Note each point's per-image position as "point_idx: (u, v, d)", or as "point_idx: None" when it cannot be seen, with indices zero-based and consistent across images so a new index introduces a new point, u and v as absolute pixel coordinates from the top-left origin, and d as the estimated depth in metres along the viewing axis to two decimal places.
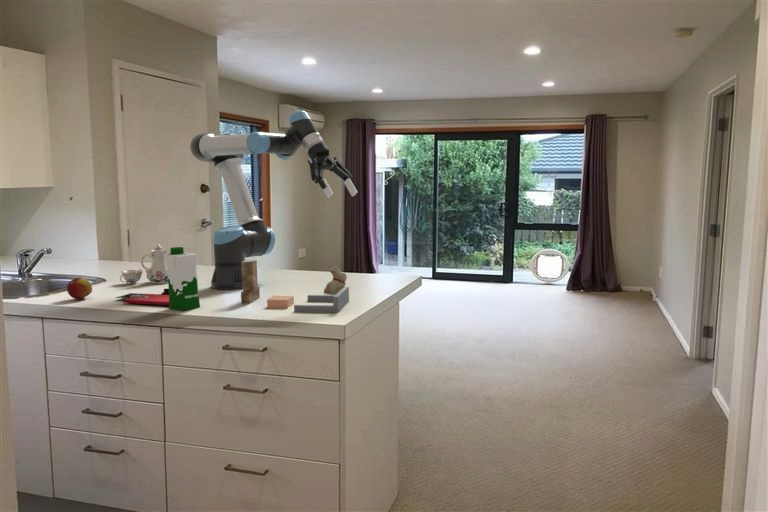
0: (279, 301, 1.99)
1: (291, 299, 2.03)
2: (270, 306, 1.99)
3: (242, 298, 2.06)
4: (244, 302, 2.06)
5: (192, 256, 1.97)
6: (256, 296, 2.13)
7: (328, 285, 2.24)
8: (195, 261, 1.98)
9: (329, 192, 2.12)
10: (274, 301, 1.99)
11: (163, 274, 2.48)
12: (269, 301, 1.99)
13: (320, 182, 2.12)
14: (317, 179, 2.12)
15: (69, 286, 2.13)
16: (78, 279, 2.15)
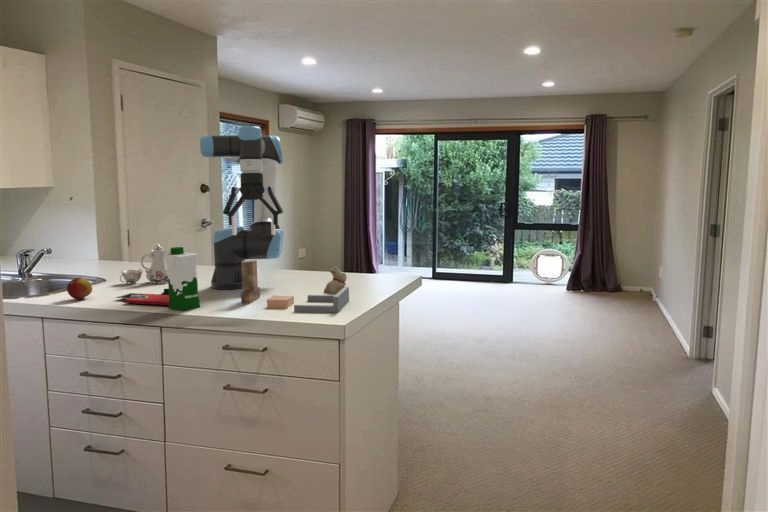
0: (279, 301, 1.99)
1: (291, 299, 2.02)
2: (270, 306, 1.99)
3: (242, 298, 2.06)
4: (244, 302, 2.06)
5: (192, 256, 1.97)
6: (256, 296, 2.13)
7: (328, 285, 2.24)
8: (195, 261, 1.98)
9: None
10: (274, 301, 1.99)
11: (163, 274, 2.48)
12: (269, 301, 1.99)
13: None
14: (227, 214, 2.08)
15: (69, 286, 2.13)
16: (78, 279, 2.15)
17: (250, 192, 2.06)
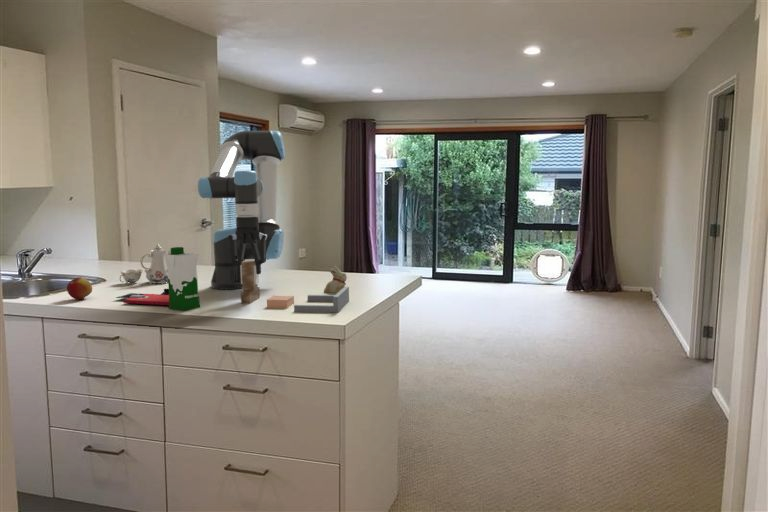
0: (279, 301, 1.99)
1: (291, 299, 2.02)
2: (270, 306, 1.99)
3: (242, 298, 2.06)
4: (244, 302, 2.06)
5: (192, 256, 1.97)
6: (256, 296, 2.13)
7: (328, 285, 2.24)
8: (195, 261, 1.98)
9: None
10: (274, 301, 1.99)
11: (163, 274, 2.48)
12: (269, 301, 1.99)
13: None
14: None
15: (69, 286, 2.13)
16: (78, 279, 2.15)
17: (245, 234, 2.07)
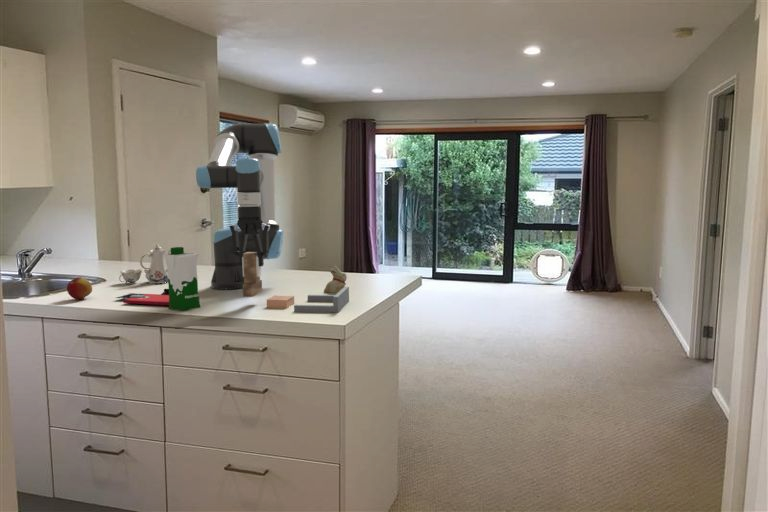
0: (278, 301, 1.99)
1: (291, 299, 2.02)
2: (269, 306, 1.99)
3: (244, 290, 1.98)
4: (246, 295, 1.98)
5: (192, 256, 1.97)
6: (259, 289, 2.05)
7: (328, 285, 2.24)
8: (195, 261, 1.98)
9: None
10: (273, 301, 1.99)
11: (162, 274, 2.48)
12: (269, 301, 1.99)
13: None
14: None
15: (69, 286, 2.13)
16: (78, 279, 2.15)
17: (248, 225, 1.99)
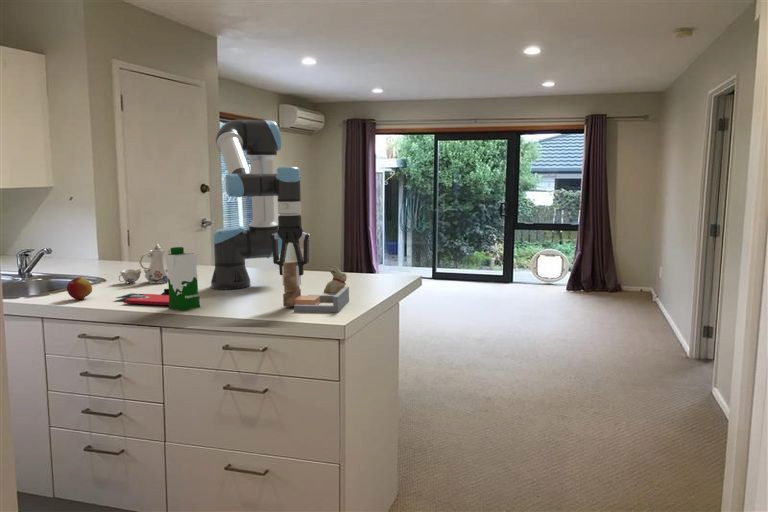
0: (306, 301, 1.98)
1: (318, 299, 2.01)
2: None
3: (285, 300, 1.97)
4: (286, 304, 1.97)
5: (192, 256, 1.97)
6: None
7: (328, 285, 2.24)
8: (195, 261, 1.98)
9: None
10: (301, 301, 1.98)
11: (162, 274, 2.48)
12: (296, 301, 1.98)
13: None
14: None
15: (69, 286, 2.13)
16: (78, 279, 2.15)
17: (288, 234, 1.98)
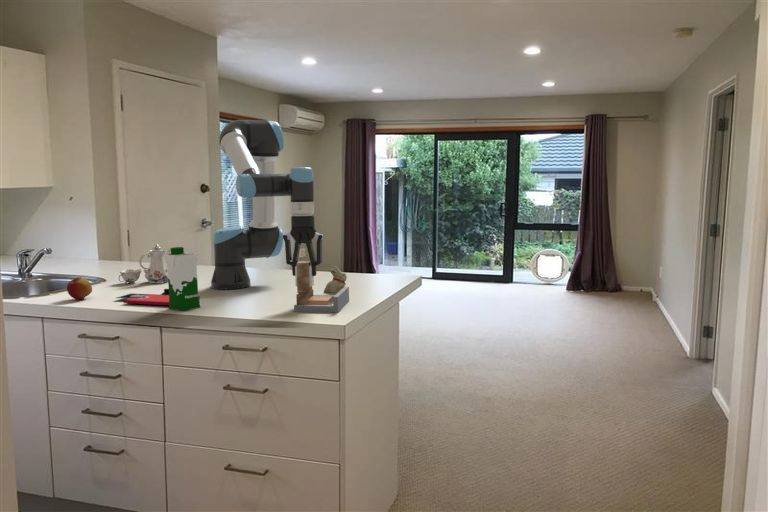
0: (319, 301, 1.97)
1: (331, 299, 2.01)
2: None
3: (298, 301, 1.96)
4: None
5: (192, 256, 1.97)
6: None
7: (328, 285, 2.24)
8: (195, 261, 1.98)
9: None
10: (314, 301, 1.97)
11: (162, 274, 2.48)
12: (309, 302, 1.98)
13: None
14: None
15: (69, 286, 2.13)
16: (78, 279, 2.15)
17: (301, 234, 1.97)
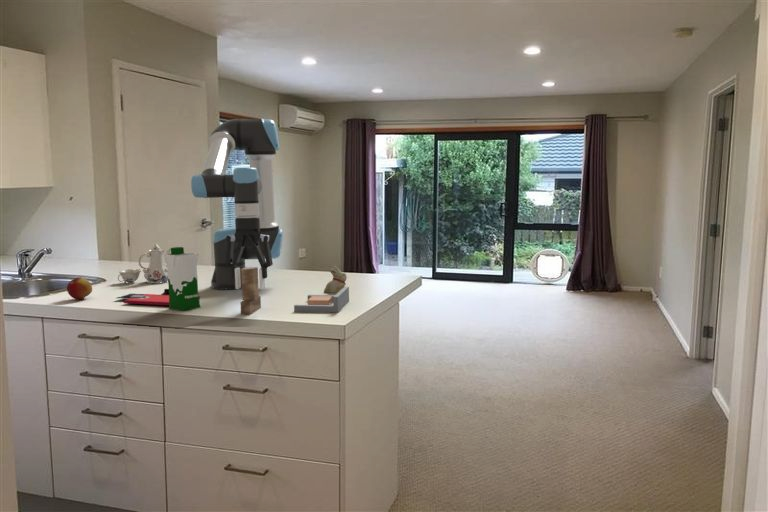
0: (320, 301, 1.97)
1: (331, 299, 2.01)
2: None
3: (242, 308, 1.89)
4: (244, 313, 1.90)
5: (192, 256, 1.97)
6: (257, 306, 1.96)
7: (328, 285, 2.24)
8: (195, 261, 1.98)
9: None
10: (315, 301, 1.97)
11: (161, 273, 2.49)
12: (310, 301, 1.97)
13: None
14: None
15: (69, 286, 2.13)
16: (78, 279, 2.15)
17: (245, 237, 1.90)
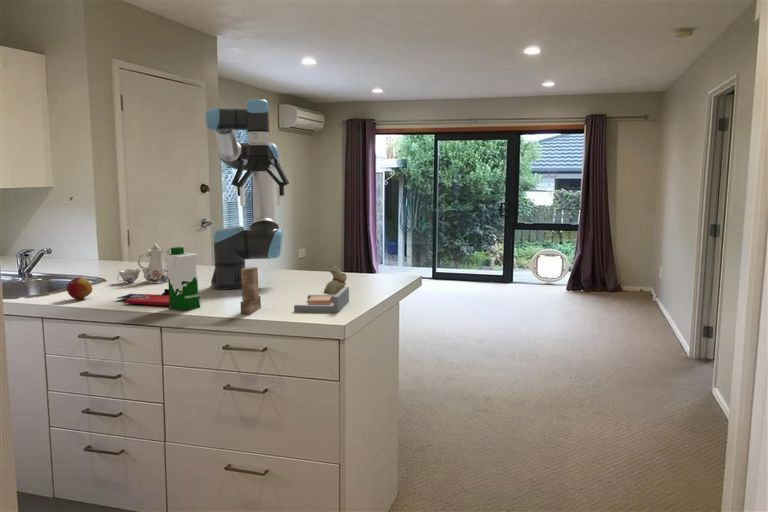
0: (320, 301, 1.97)
1: (331, 299, 2.01)
2: None
3: (242, 308, 1.89)
4: (244, 313, 1.90)
5: (192, 256, 1.97)
6: (257, 306, 1.96)
7: (328, 285, 2.24)
8: (195, 261, 1.98)
9: None
10: (315, 301, 1.97)
11: (160, 273, 2.49)
12: (310, 302, 1.97)
13: None
14: (236, 186, 2.16)
15: (69, 286, 2.13)
16: (78, 279, 2.15)
17: (257, 164, 2.12)
